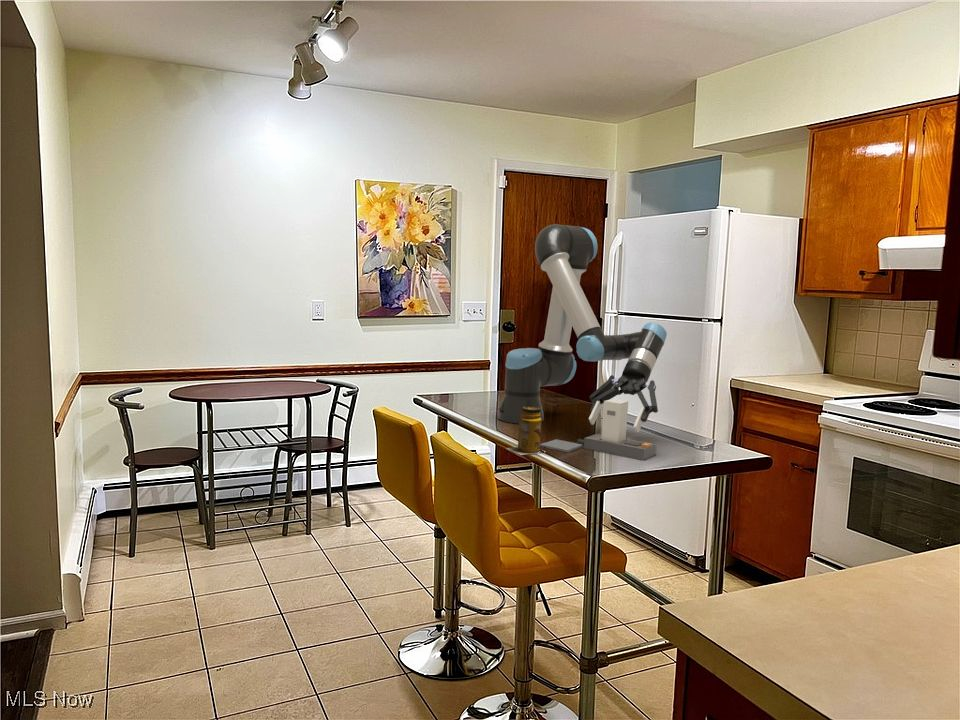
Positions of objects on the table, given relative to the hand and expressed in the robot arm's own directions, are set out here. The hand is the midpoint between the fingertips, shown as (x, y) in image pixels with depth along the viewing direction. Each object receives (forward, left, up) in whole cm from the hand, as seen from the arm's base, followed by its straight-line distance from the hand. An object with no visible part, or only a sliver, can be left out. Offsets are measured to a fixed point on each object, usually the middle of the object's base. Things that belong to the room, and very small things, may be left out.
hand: (612, 425), depth 198 cm
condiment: (+14, -20, -8) cm, 25 cm away
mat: (+3, -14, -7) cm, 16 cm away
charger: (-2, 0, -5) cm, 6 cm away
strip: (-2, 0, -7) cm, 7 cm away
